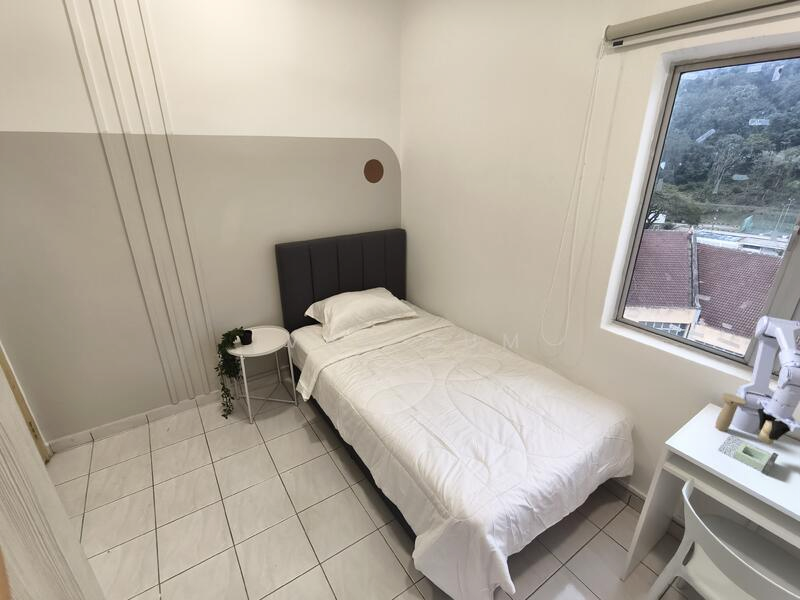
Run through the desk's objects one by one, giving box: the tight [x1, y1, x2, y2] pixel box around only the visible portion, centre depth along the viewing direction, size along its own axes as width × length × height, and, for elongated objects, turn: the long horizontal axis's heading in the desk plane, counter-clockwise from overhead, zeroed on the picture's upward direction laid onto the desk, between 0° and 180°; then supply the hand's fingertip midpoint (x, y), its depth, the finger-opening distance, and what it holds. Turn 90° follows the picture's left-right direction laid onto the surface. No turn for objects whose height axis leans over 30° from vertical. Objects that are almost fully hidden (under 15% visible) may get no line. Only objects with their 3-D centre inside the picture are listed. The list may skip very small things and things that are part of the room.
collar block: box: [732, 442, 772, 472], centre depth 124 cm, size 7×7×2 cm
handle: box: [714, 392, 746, 433], centre depth 136 cm, size 5×6×15 cm
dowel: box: [757, 420, 775, 445], centre depth 122 cm, size 4×4×7 cm
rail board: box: [717, 434, 779, 476], centre depth 127 cm, size 14×13×5 cm
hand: (767, 434), depth 123 cm, fingers closed on dowel, 4 cm apart
